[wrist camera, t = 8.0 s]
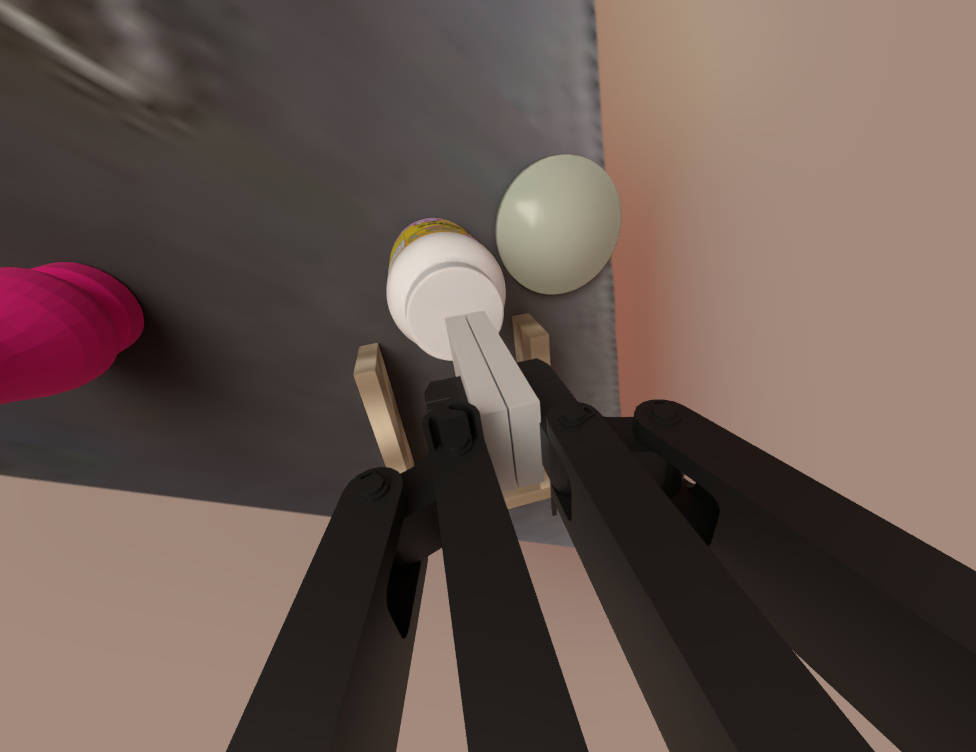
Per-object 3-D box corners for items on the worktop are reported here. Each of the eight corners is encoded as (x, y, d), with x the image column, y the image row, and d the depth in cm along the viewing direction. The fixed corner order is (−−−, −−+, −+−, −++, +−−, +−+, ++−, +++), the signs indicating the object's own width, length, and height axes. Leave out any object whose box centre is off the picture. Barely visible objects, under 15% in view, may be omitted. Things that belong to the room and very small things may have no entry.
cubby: (359, 346, 30) (353, 374, 26) (528, 312, 32) (548, 334, 28) (408, 495, 39) (410, 535, 35) (539, 462, 41) (556, 496, 37)
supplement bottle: (491, 241, 29) (550, 282, 18) (455, 316, 31) (488, 395, 20) (409, 198, 26) (417, 215, 15) (377, 284, 28) (363, 353, 17)
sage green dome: (486, 165, 26) (489, 164, 25) (617, 146, 27) (625, 145, 27) (501, 301, 31) (504, 304, 30) (612, 279, 32) (617, 282, 32)
